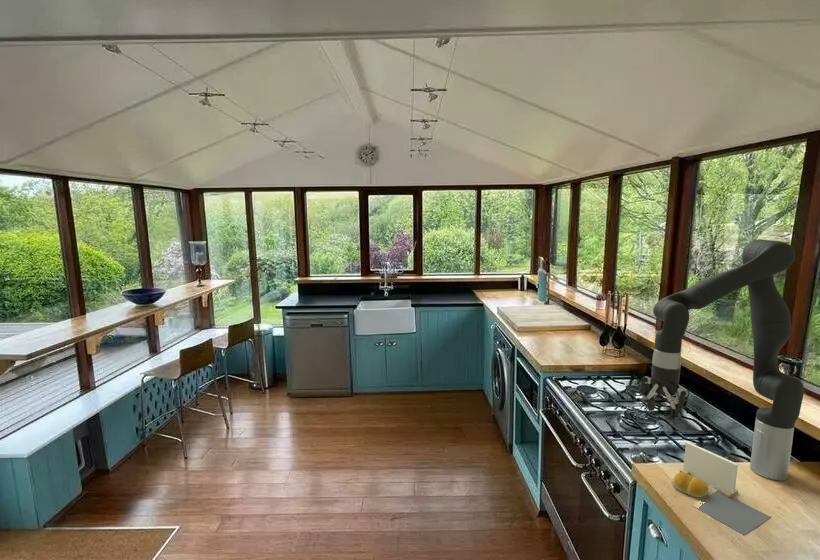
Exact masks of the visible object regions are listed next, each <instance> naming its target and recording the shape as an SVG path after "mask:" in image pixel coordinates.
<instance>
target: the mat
mask: <svg viewBox="0 0 820 560" xmlns="http://www.w3.org/2000/svg"><path fill="white" fill-rule="evenodd" d="M721 492H722V491H720V490H718V489H716V490H715V491H714V492H712V493H710V494H709V495H708V494H707V495H706V496H704V497H703V498H701V499H699V500H698V501H700V500H701V502H705V503H704V504H703V503H702V505H701V506H700V507H699V509H698V510H699V511H700V510H701V512H702V513H704V514H706V515H708V516H709V517H711V518H713V519H714V520H716V521H717V522H719V523H722V524H723V525H725V526H727V527H728V528H730V529H732V530H733V531H735V532H737V533H739V534H741V535H742V536H746V535H747V534H748V533H750V532H751V531H753V530H754V529H756V528H758V527H759V526H760V525H762V524H763V523H765V522H766V521H768V520H769V519H770V518H771V516H769V515H768V514H766V513H764V512H762V511H760V510H758V509H756V508H754V507H752V506H751V505H749V504H746V503H745V502H743V501H741V500H739V499H736V498H735V497H734V496H733V497H730V498H727V497H725V496H723V495H721ZM700 504H701V503H700Z"/></svg>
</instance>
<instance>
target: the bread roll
mask: <svg viewBox="0 0 820 560" xmlns="http://www.w3.org/2000/svg"><path fill="white" fill-rule="evenodd" d="M671 484H672V485H673V486H674V488H676V489H677V491H680V492H681V493H686V494H687V495H689V496H690V497H691V496H692V497H694V498H701V497H707V496H708V494H709V487H708V484H706V483H705V482H704V481H703V480H701V479H699V478H696V477H693V476H691V475H689V474H687V473H684V472H680V471H679V472H677V473H676V474H674V475H673V477H672V478H671Z"/></svg>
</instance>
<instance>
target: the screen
mask: <svg viewBox="0 0 820 560" xmlns="http://www.w3.org/2000/svg"><path fill="white" fill-rule="evenodd" d="M684 449H685V450H684V459H683V467H682V468H681V469H680V470H679V472H684V473H687V474H689V475H690V476H691V477H692V478H693V477H696V478H699V479H701V480H703V481H704V482H705V483H706V484H707V486H708V485H709V486H711V487H712V488H714V489H715V490H719V491H721V495H723V496H725V497H727V498H730V497H733V498H734V496H736V495H738V494H739V490H738V489H737V488H736V487H737V485H736V484H737V477H738V467H739V464H738V463H736V462H734V461H733V460H730V459H729V458H728V459H727V458H725V457H724V456H721V455H719V454H716V453H714V452H712V451H710V450H708V449H706V448H703V447H700V446H698V445H696V444H694V443H692V442H689V441H687V442H685V448H684Z"/></svg>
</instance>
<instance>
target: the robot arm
mask: <svg viewBox="0 0 820 560" xmlns="http://www.w3.org/2000/svg"><path fill="white" fill-rule="evenodd" d="M741 255H742V256H741V257H742V259H741V260H742V265H739V266H737V267H733V268H731V269H728V270H726V271H722V272H719V273H716V274H713V275H710V276H707V277H705V278H703V279H701V280H700V281H698V282H696V283H695V284H692V285H691V286H690V287H688V288H686V289H684V290H681V291H678V292H674V293H673V294H670V295H667V296H665V297H663V298H661V299H659V300H658V301H657V302H656V303H655V304H654V306H653V309H652V312H653V315H654V317H655V318H657V319H658V320H659V321H661V322H663V325H662V329H660V330H658V331H657V332H656V333H655V337H654V338H655V339H654V346H653V347H654V348H653V349H654V350H653V353H652V363H651V374H650V375H651V377H649V375H645V376H643V377H641V395H642V396H645V397H646V399H647V406H646V407H647V410H648V411H650V412H652V411H654V410H655V409H656V406H655V405H656V398H655V397H656V396H657V395H660V396H663V397H665V398H666V399H667V402H669V404H670V407H671V408H670V412H669V413H670V414H669V416H670V417H669V419H670V420H671V421H674V420H676V419H678V418H679V415H680V414H679V413H680V410H682V409H683V410H684V409H686V408H687V405H688V401H689V396H690V390H689V389H683V388H681V387H680V384H679V383H680V377H681V375H680V374H681V367H682V345H683V338H684V335H685V333H686V329H687V327H688V325H689V321H690V312H689V310H701V309H703V308H705V307H707V306H710V305H712V304H713V303H714V302H716V301H718V300H720V299H722V298H724V297H725V296H727V295H729V294H731V293H733V292H735V291H737V290H740V289H742V288H744V287H746V286H747V288H748V299H749V300H748V301H749V306H750V309H749V310H750V321H751V323H750V324H751V331H752V341H753V342H752V343H753V344H752V345H753V346H752V348H753V370H752V371H753V372H752V385H753V388H754V390H755V392H756V393H757V394H758V395H760V396H762V397H764V398H765V399H768V400H770V401H772V406H771V407H769V406H767V407H766V406H765V407H759V408H758V409H756V410H757V411H756V414H755V415H756V416H755V421H754V429H753V431H754V432H753V439H752V448H751V455H750V464H749V467H750V470H751V471H753V472H754V473H756V474H757V475H759V476H761V477H763V478H766V479H769V480H773V481H785V480H784V479H786V480H788V478H789V477H788V476H789V468H790V462H791V454H792V449H793V448H792V447H793V439H794V432H795V425H796V422H797V420H798V419H799V416H800V412H801V409H802V404H803V398H804V392H805V387H804V385H803V382H802V381H801V380H800V379H799V378H798V377H795V376H792V375H789V374H788V373H784V372H782V371H780V369H779V366H778V358H779V357H778V355H779V353H780V351H781V350H782V349H783V347H784V346H785V345H786V343H787V342H788V341H789V339H790V337H791V334H792V320H791V312H790V309H789V307H788V306H787V303H786V301H785V300H784V298H783V296H782V295H781V292H780V291H779V290H778V288H777V286H776V283H775V278H774V275H776V274H779V273H781V272H784V271H785V270H787V269H788V268H790V266H792V265H793V264H794V262H795V260H796V251H795V249H794V247H793V246H792V245H790V244H789V243H787V242H784V241H779V240H770V239H761V238H760V239H759V238H758V239H754V240H751V241H750V242H748V243H747V244H746V245H745V246H744V248H743V250H742V253H741ZM650 385H651V386H652V388H651V387H650ZM677 393H678V394H677Z"/></svg>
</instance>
